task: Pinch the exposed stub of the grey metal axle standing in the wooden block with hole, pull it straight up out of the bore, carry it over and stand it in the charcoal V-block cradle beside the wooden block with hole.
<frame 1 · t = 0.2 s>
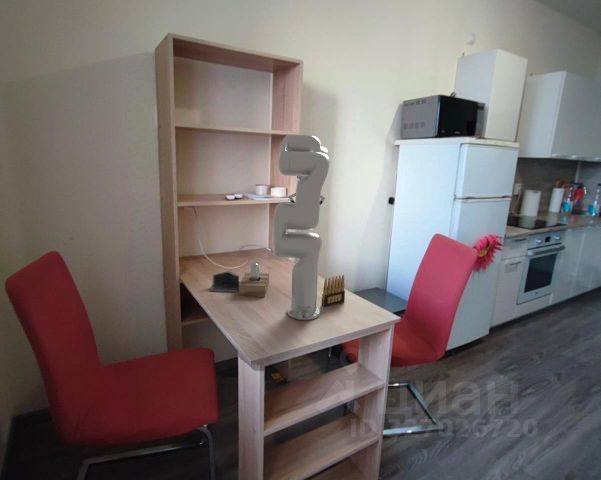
hand: (306, 214, 172), 31 cm above the table, tool pointing down, fingers open, 9 cm apart
ammunition clip: (333, 304, 146), on the table
wooden block with hole: (254, 289, 158), on the table
axle: (254, 276, 156), in the wooden block with hole
v block: (225, 288, 158), on the table
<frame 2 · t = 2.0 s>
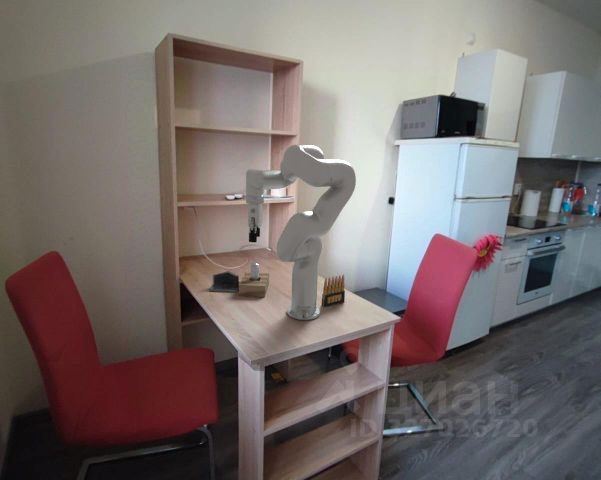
hand: (254, 239, 152), 23 cm above the table, tool pointing down, fingers open, 9 cm apart
nothing on the table moved.
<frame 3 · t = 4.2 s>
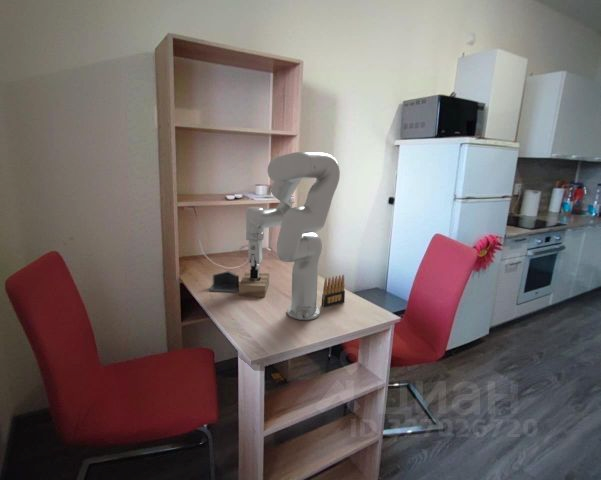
hand: (254, 276, 156), 6 cm above the table, tool pointing down, fingers closed on axle, 3 cm apart
axle: (254, 276, 156), in the wooden block with hole, touching gripper
everything else where it was.
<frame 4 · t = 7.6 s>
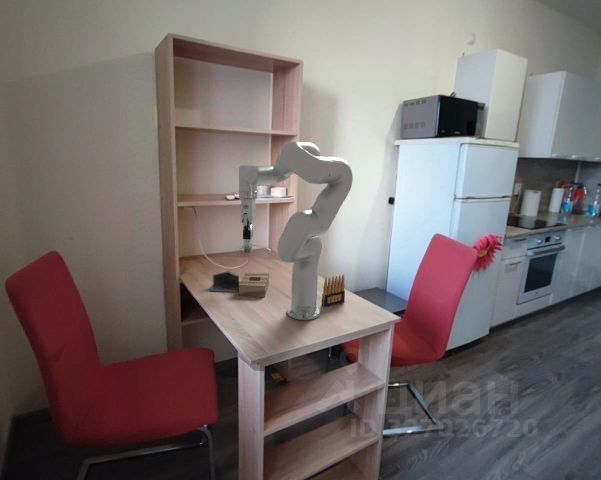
hand: (247, 237, 152), 24 cm above the table, tool pointing down, fingers closed on axle, 3 cm apart
axle: (247, 238, 152), point 23 cm above the table, touching gripper
everything else where it was.
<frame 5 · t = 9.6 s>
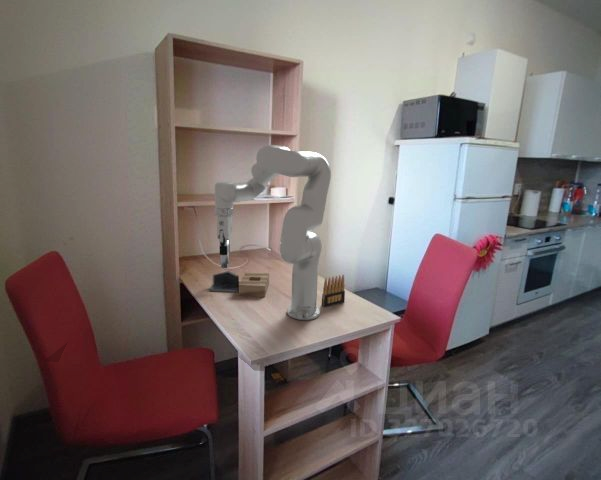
hand: (224, 253, 154), 16 cm above the table, tool pointing down, fingers closed on axle, 3 cm apart
axle: (224, 253, 154), point 16 cm above the table, touching gripper
everything else where it was.
when the fingers open (9 cm above the table, at t = 11.1 s): axle drops 2 cm, resting on v block.
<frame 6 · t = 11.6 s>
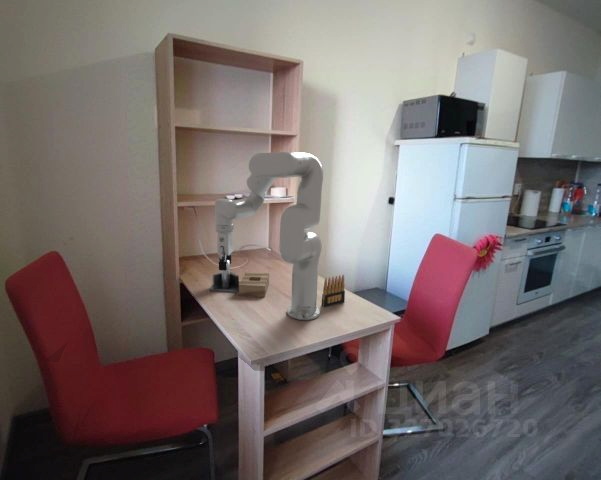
hand: (225, 266, 155), 10 cm above the table, tool pointing down, fingers open, 8 cm apart
axle: (225, 273, 156), point 7 cm above the table, touching v block
everything else where it was.
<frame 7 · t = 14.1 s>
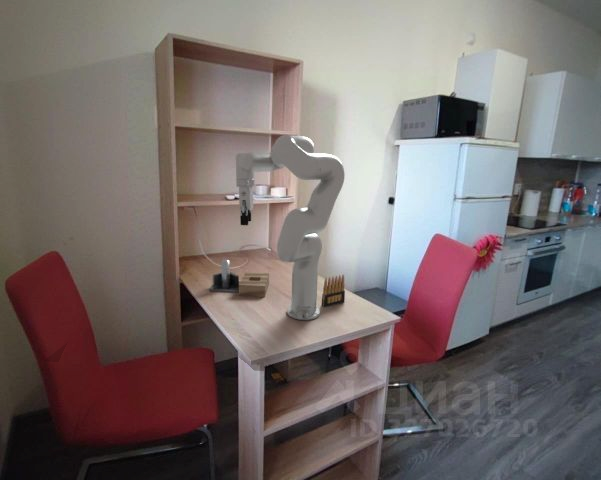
hand: (246, 223, 154), 29 cm above the table, tool pointing down, fingers open, 9 cm apart
nothing on the table moved.
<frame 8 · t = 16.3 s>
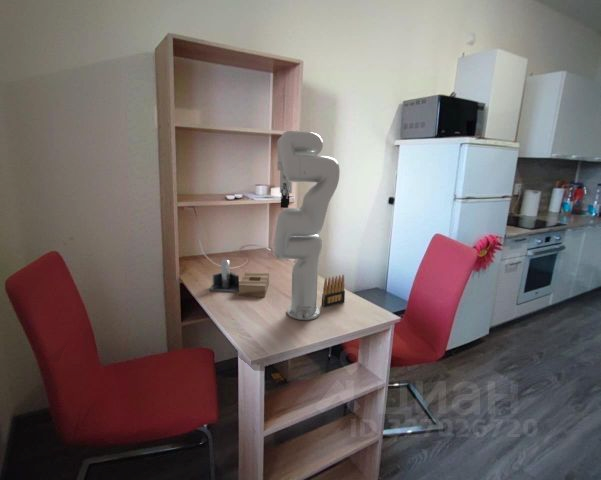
hand: (285, 206, 159), 36 cm above the table, tool pointing down, fingers open, 9 cm apart
nothing on the table moved.
at the end: axle 0.1 cm off-centre on the v block, point 7.0 cm above the v block's base; axle tilted 0°; the gripper is holding nothing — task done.
